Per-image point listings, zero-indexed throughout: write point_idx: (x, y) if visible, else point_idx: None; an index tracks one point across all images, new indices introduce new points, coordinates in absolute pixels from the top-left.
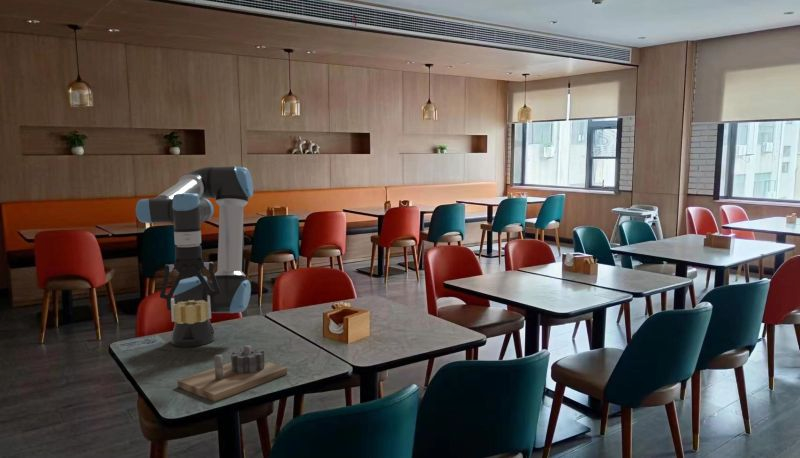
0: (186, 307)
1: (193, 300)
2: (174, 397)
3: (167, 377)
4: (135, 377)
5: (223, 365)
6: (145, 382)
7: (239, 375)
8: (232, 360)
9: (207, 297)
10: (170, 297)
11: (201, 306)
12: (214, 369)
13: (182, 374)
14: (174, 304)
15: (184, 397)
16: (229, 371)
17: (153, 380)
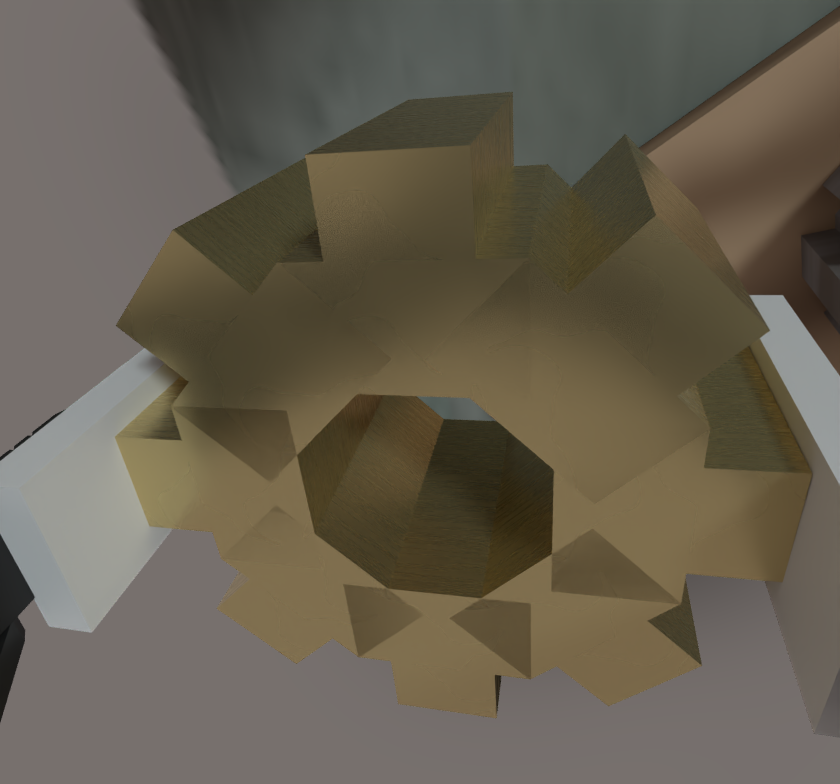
0: (382, 644)
1: (445, 196)
2: (441, 405)
3: (348, 78)
4: (141, 15)
5: (763, 86)
6: (238, 138)
7: (827, 344)
8: (829, 303)
9: (817, 729)
10: (2, 661)
11: (626, 680)
12: (675, 167)
13: (441, 39)
14: (131, 465)
15: (489, 420)
16: (779, 247)
17: (274, 114)
